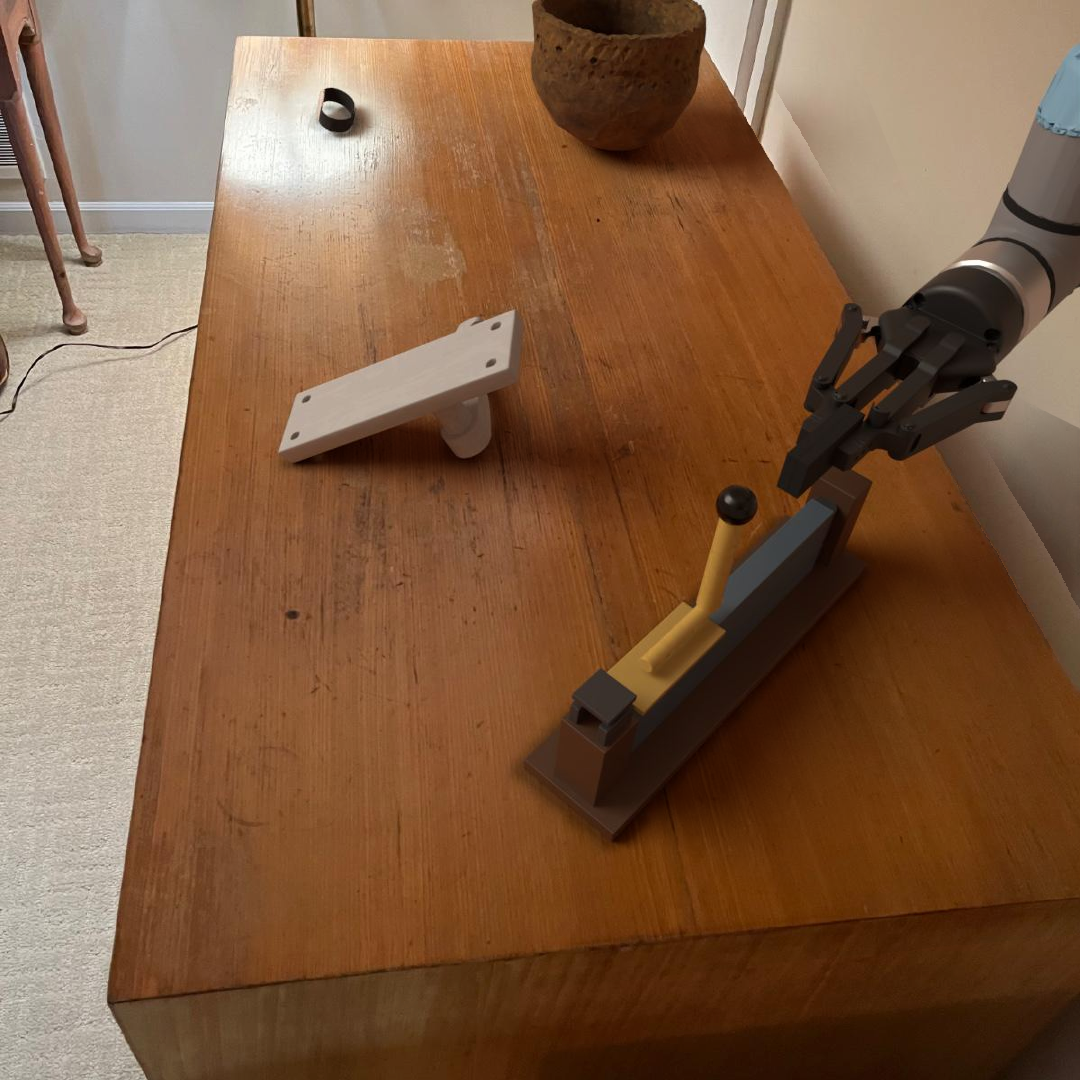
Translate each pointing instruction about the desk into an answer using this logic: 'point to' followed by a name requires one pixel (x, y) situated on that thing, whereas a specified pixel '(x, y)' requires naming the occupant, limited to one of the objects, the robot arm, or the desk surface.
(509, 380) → the handle
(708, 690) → the sliding lever mechanism
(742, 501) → the bolt
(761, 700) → the desk surface
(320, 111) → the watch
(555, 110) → the bowl
